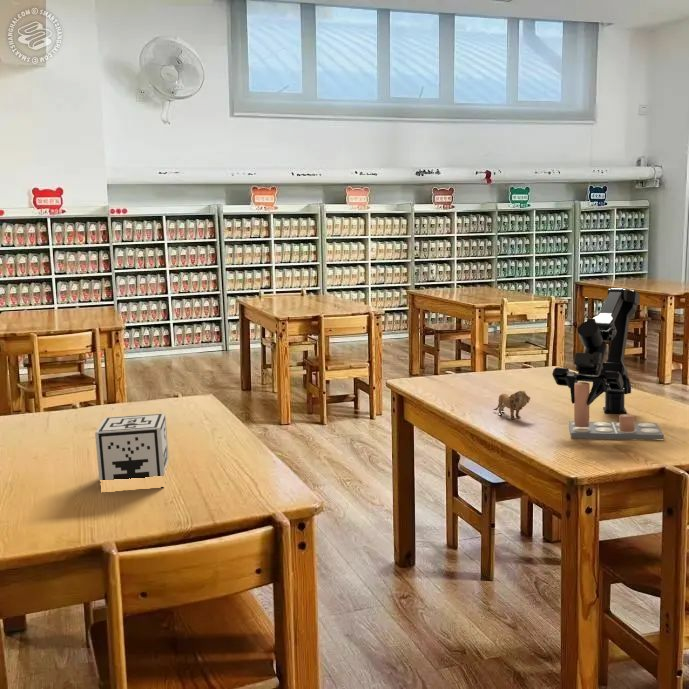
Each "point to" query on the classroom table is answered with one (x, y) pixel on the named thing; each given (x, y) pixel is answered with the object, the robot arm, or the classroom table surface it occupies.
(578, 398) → the terracotta pin
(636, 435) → the pattern board
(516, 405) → the lion figurine
